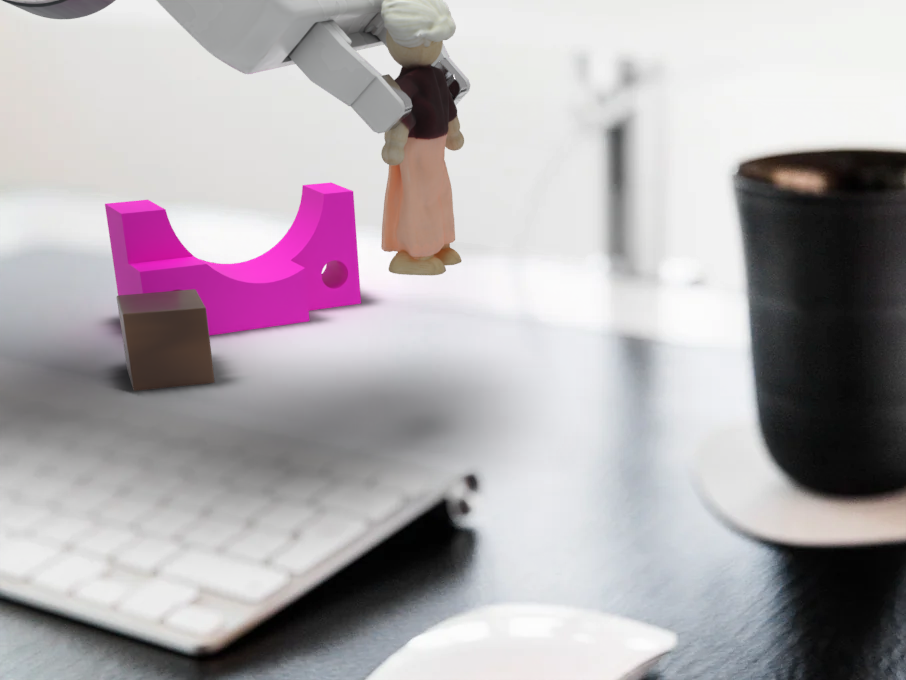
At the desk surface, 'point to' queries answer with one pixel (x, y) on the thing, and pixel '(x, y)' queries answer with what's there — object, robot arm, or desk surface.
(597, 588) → the desk surface
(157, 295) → the walnut cube
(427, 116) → the grandmother figurine
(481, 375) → the desk surface
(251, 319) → the toy block
